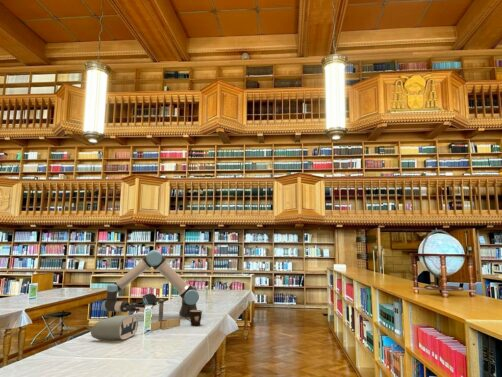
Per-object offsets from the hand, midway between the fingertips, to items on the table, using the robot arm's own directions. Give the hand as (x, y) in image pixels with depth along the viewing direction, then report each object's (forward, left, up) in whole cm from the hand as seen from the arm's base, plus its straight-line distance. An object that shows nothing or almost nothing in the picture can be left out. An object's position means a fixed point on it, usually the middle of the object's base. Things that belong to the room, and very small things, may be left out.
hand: (148, 308), depth 274 cm
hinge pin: (-5, +9, -10) cm, 14 cm away
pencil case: (+38, +24, -11) cm, 46 cm away
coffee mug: (-20, +28, -11) cm, 36 cm away
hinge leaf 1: (+6, +22, -10) cm, 25 cm away
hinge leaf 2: (-4, +22, -10) cm, 24 cm away
